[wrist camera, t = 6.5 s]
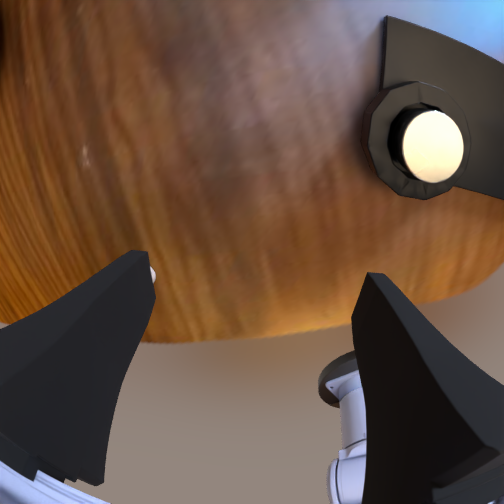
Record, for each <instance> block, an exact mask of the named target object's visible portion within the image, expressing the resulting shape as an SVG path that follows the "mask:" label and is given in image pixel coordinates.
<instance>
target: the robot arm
mask: <svg viewBox="0 0 504 504" xmlns="http://www.w3.org/2000/svg"><path fill="white" fill-rule="evenodd" d="M155 299H156V296H155V291H154V286H153V280H152V274H151V269H150V263H149V257H148V252H146V251H137V250H131V251H129V252H127V253H126V254H124V255H122V256H121V257H119V258H118V259H116V260H115V261H113V262H112V263H111V264H109V265H108V266H106V267H105V268H103V269H102V270H101V271H99V272H98V273H96V274H95V275H93V276H92V277H91V278H89V279H88V280H86V281H85V282H83V283H82V284H80V285H79V286H77V287H76V288H74V289H73V290H71V291H70V292H68V293H67V294H65V295H64V296H62V297H61V298H59V299H58V300H56V301H54V302H53V303H51V304H49V305H48V306H46V307H44V308H42V309H41V310H39V311H37V312H35V313H33V314H31V315H29V316H27V317H25V318H23V319H21V320H19V321H17V322H15V323H13V324H11V325H9V326H7V327H4V328H2V329H0V504H111V503H108V502H105V501H103V500H100V499H97V498H95V497H93V496H90V495H88V494H86V493H83V492H81V491H79V490H77V489H74V488H72V487H70V486H68V485H66V484H64V480H65V478H66V479H68V480H71V481H73V482H76V480H77V479H79V480H81V481H84V482H86V483H88V484H91V485H94V486H98V485H100V484H102V483H104V473H105V461H106V453H107V446H108V441H109V434H110V429H111V424H112V420H113V415H114V411H115V407H116V403H117V399H118V396H119V392H120V389H121V385H122V382H123V380H124V377H125V374H126V372H127V370H128V367H129V365H130V363H131V360H132V358H133V356H134V354H135V351H136V349H137V347H138V345H139V343H140V340H141V338H142V336H143V334H144V331H145V329H146V327H147V325H148V322H149V319H150V316H151V313H152V309H153V306H154V303H155ZM351 320H352V333H353V344H354V349H355V354H356V359H357V364H358V369H359V370H356V371H354V372H351V373H349V374H346V375H344V376H341V377H339V378H336V379H333V380H331V381H328V382H326V384H325V385H326V387H327V388H328V389H329V390H330V391H331V392H332V393H333V394H334V395H335V396H336V397H337V398H338V399H339V404H340V417H341V431H342V449H343V450H339V451H338V452H339V458H337V459H334V460H333V461H332V463H331V464H330V466H329V467H328V471H327V493H328V497H329V500H330V504H504V385H502V384H501V383H499V382H498V381H496V380H495V379H494V378H492V377H491V376H489V375H488V374H487V373H485V372H484V371H483V370H481V369H480V368H479V367H478V366H476V365H475V364H474V363H473V362H471V361H470V360H469V359H468V358H467V357H466V356H464V355H463V354H462V353H461V352H460V351H459V350H458V349H457V348H455V347H454V346H453V345H452V344H451V343H450V342H449V341H448V340H447V339H446V338H445V337H444V336H443V335H442V334H441V333H440V332H439V331H438V330H437V329H436V328H435V327H434V326H433V325H432V324H431V323H430V322H429V321H428V320H427V319H426V318H425V317H424V315H423V314H422V313H421V312H420V311H419V310H418V309H417V308H416V307H415V306H414V305H413V304H412V302H411V301H410V300H409V299H408V298H407V297H406V296H405V295H404V294H403V293H402V292H401V290H400V289H399V288H398V287H397V286H396V285H395V284H394V283H393V282H392V281H391V280H390V279H389V278H388V277H387V276H386V275H385V274H383V273H371V272H367V274H366V277H365V280H364V283H363V286H362V289H361V292H360V295H359V297H358V300H357V303H356V306H355V308H354V311H353V314H352V316H351Z"/></svg>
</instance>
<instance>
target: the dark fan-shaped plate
mask: <svg viewBox="0 0 504 504" xmlns="http://www.w3.org/2000/svg"><path fill="white" fill-rule="evenodd" d="M414 108H425V109H430V110H435V111H439V112H442V113H444V114H446V115H448V116H449V117H450V118H451V119H452V120H453V121H454V122H455V123H456V124H457V126H458V128H459V129H460V132H461V134H462V138H463V143H464V152H463V158H462V161H461V164H460V166H459V168H458V169H457V171H456V172H455V173H454V174H453V175H452V176H451V177H450V178H448V179H447V180H445V181H442V182H439V183H427V182H424V181H421V180H419V179H418V178H416V177H415V176H414V175H412V174H411V173H410V172H408V171H407V170H406V169H405V168H403V167H402V166H401V165H400V163H399V162H398V161H397V159H396V157H395V155H394V152H393V148H392V132H393V129H394V126H395V124H396V122H397V120H398V119H399V118H400V117H401V115H403V114H404V113H405V112H407V111H409V110H411V109H414ZM361 144H362V147H363V150H364V152H365V155H366V158H367V160H368V163H369V167H370V168H371V170H372V171H373V172H374V173H375V174H376V175H377V176H378V177H379V178H380V179H381V180H382V181H383V182H384V183H385V184H387V185H388V186H389V187H390V188H391V189H392V190H393V191H394V192H395V193H397V194H398V195H400V196H404V197H410V198H415V199H420V200H427V199H430V198H432V197H435V196H438V195H440V194H443V193H445V192H448V191H449V190H450V189H451V188H452V187H453V186H456V187H459V188H463V189H467V190H471V191H474V192H478V193H482V194H485V195H489V196H492V197H495V198H499V199H502V200H504V64H503V63H501V62H499V61H497V60H496V59H494V58H492V57H490V56H488V55H486V54H485V53H483V52H481V51H479V50H477V49H475V48H473V47H471V46H468V45H466V44H464V43H462V42H460V41H457V40H455V39H453V38H451V37H448V36H446V35H443V34H441V33H438V32H436V31H433V30H431V29H428V28H425V27H422V26H420V25H417V24H414V23H411V22H408V21H404V20H401V19H398V18H395V17H391V16H388V15H387V16H385V17H384V32H383V51H382V66H381V78H380V88H379V94H378V95H377V96H376V97H375V99H374V100H373V101H372V102H371V104H370V105H369V106H368V108H367V109H366V110H365V112H364V118H363V126H362V134H361Z"/></svg>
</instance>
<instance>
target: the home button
mask: <svg viewBox="0 0 504 504" xmlns="http://www.w3.org/2000/svg"><path fill="white" fill-rule="evenodd" d="M392 148H393V152H394V155H395V157H396V159H397V161H398V162H399V163H400V165H401V166H402V167H403V168H405V169H406V170H407V171H408V172H410V173H411V174H412V175H414V176H415V177H416V178H418V179H419V180H421V181H424V182H427V183H439V182H442V181H445V180H447V179H448V178H450V177H451V176H452V175H453V174H454V173H455V172H456V171H457V169H458V168H459V166H460V164H461V161H462V158H463V152H464V143H463V138H462V134H461V132H460V129H459V128H458V126H457V124H456V123H455V122H454V121H453V120H452V119H451V118H450V117H449V116H448V115H446V114H444V113H442V112H439V111H435V110H430V109H425V108H414V109H411V110H409V111H407V112H405V113H404V114H403V115H401V117H400V118H399V119H398V120H397V122H396V124H395V126H394V129H393V132H392Z"/></svg>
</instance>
